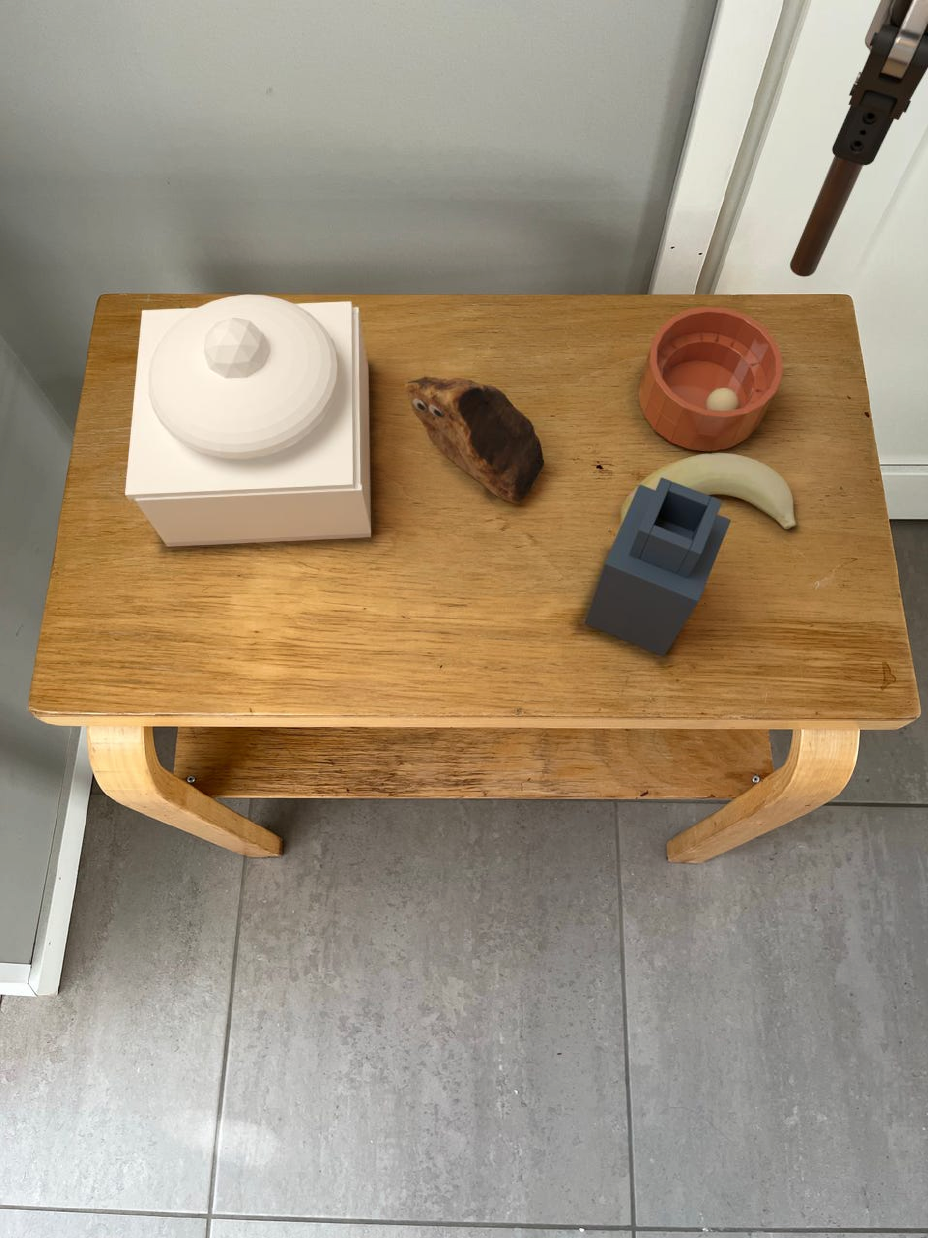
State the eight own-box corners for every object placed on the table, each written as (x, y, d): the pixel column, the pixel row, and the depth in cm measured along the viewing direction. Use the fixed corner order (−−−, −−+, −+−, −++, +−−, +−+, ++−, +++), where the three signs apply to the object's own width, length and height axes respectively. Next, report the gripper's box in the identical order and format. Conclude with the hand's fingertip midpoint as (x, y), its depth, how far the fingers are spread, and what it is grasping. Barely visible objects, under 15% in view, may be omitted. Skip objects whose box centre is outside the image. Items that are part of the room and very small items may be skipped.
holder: (692, 585, 77) (747, 491, 62) (663, 657, 74) (713, 578, 59) (614, 553, 78) (650, 454, 63) (583, 623, 75) (613, 538, 60)
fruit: (607, 475, 80) (612, 455, 77) (775, 458, 81) (787, 438, 78) (620, 548, 78) (627, 531, 75) (794, 531, 78) (808, 513, 75)
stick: (818, 260, 57) (916, 45, 44) (812, 279, 56) (909, 67, 43) (793, 253, 57) (882, 37, 44) (786, 272, 56) (875, 59, 43)
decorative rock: (405, 445, 81) (396, 371, 71) (447, 400, 83) (444, 322, 73) (512, 520, 79) (518, 454, 69) (553, 471, 80) (566, 400, 70)
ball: (695, 397, 81) (704, 417, 83) (716, 411, 79) (724, 431, 81) (719, 376, 80) (728, 396, 83) (741, 389, 79) (749, 410, 81)
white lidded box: (371, 537, 78) (349, 435, 63) (160, 547, 78) (89, 447, 63) (369, 366, 85) (348, 237, 70) (173, 374, 84) (111, 247, 69)
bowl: (777, 375, 84) (799, 333, 78) (738, 472, 80) (759, 435, 75) (662, 334, 86) (676, 289, 80) (619, 427, 82) (631, 387, 77)
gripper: (1122, -140, 29) (891, 258, 45) (1193, -351, 34) (960, 79, 50) (892, -198, 30) (747, 209, 47) (990, -394, 35) (827, 39, 51)
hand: (858, 141), depth 48 cm, fingers closed on stick, 1 cm apart
